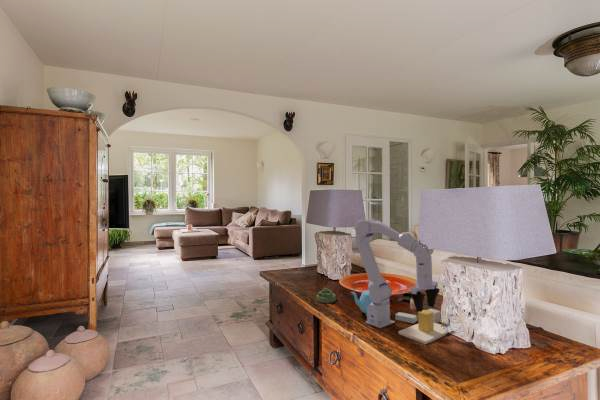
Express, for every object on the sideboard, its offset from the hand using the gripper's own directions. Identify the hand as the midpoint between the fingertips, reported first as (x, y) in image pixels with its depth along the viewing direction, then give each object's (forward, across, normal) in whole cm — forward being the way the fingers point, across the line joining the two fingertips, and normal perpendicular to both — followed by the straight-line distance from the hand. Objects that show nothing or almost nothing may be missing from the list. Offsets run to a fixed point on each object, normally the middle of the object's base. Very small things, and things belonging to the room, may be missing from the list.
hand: (425, 308), depth 132 cm
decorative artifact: (+10, -2, +58) cm, 58 cm away
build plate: (+10, +27, +29) cm, 41 cm away
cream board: (+9, 0, 0) cm, 9 cm away
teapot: (+10, 0, +29) cm, 31 cm away
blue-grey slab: (+10, +5, +13) cm, 17 cm away
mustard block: (+8, 0, 0) cm, 8 cm away
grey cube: (+9, +12, +5) cm, 16 cm away
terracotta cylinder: (+9, +20, +19) cm, 29 cm away
